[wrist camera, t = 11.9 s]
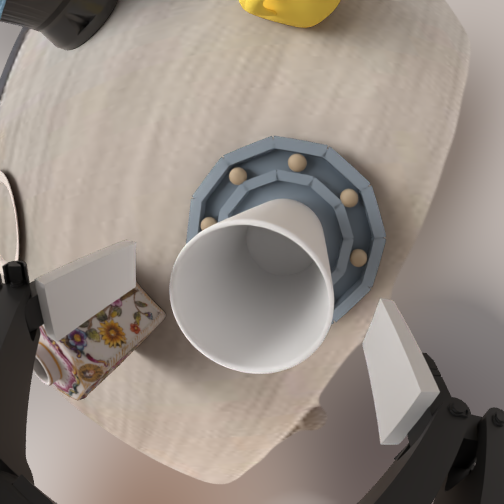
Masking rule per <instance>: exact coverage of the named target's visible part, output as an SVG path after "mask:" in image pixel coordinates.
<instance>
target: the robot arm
mask: <svg viewBox="0 0 504 504" xmlns="http://www.w3.org/2000/svg"><path fill="white" fill-rule="evenodd" d="M116 3H117V0H0V22H5V23H10V24H14V25H19V26H22V27H26V28H30V29H33V30H37V31H40V32H41V33H42V34H44V35H45V36H46V37H47V38H48V39H49V40H50V41H51V42H52V43H53V44H54V45H55V46H56V47H58V48H61V49H64V50H71V49H74V48H76V47H78V46H80V45H81V44H83V43H84V42H85V41H87V40H88V39H89V38H90V37H91V36H92V35H93V34H94V33H95V32H96V31H97V30H98V29H99V28H100V27H101V26H102V25H103V23H104V22H105V21H106V19H107V18H108V17H109V15H110V14H111V12H112V11H113V9H114V7H115V5H116ZM2 268H3V274H4V279H5V284H4V283H2V279H1V274H0V504H57V503H55V502H54V501H52V500H51V499H50V498H49V497H48V496H46V495H45V494H44V493H43V492H41V491H40V490H39V489H38V488H37V487H36V486H34V480H33V476H32V473H31V470H30V468H29V465H28V463H27V460H26V422H27V410H28V400H29V392H30V385H31V379H32V373H33V367H34V362H35V357H36V352H37V348H38V343H39V339H40V335H41V332H40V328H39V327H40V326H42V325H43V324H44V327H45V330H46V334H47V336H48V337H50V338H51V339H53V340H54V341H56V342H58V341H59V340H61V339H62V338H63V337H65V336H66V335H67V334H69V333H70V332H72V331H73V330H74V329H76V328H77V327H79V326H80V325H81V324H83V323H84V322H86V321H87V320H88V319H90V318H91V317H93V316H94V315H96V314H97V313H98V312H100V311H101V310H103V309H104V308H106V307H107V306H108V305H110V304H111V303H113V302H114V301H116V300H117V299H119V298H120V297H122V296H123V295H124V294H126V293H127V292H129V291H130V290H132V289H133V288H135V287H136V242H133V241H129V240H123V241H121V242H118V243H116V244H113V245H111V246H109V247H106V248H104V249H101V250H99V251H96V252H94V253H92V254H89V255H87V256H85V257H82V258H80V259H78V260H75V261H73V262H71V263H68V264H66V265H64V266H62V267H59V268H57V269H55V270H53V271H51V272H48V273H46V274H44V275H42V276H40V277H38V278H36V279H35V281H33V282H31V283H29V276H28V270H27V264H26V262H24V261H11V262H8V263H6V264H4V265H3V266H2ZM362 344H363V349H364V353H365V358H366V361H367V367H368V372H369V377H370V382H371V387H372V392H373V397H374V403H375V409H376V415H377V421H378V428H379V435H380V442H381V444H388V445H392V444H400V442H401V441H402V440H403V439H404V438H405V437H406V436H407V435H408V439H409V443H408V445H407V446H406V447H405V448H404V449H403V450H402V451H401V452H400V453H399V454H398V455H397V456H396V457H395V458H394V459H395V461H394V462H393V464H392V465H391V466H390V467H389V469H388V470H387V471H386V472H385V474H384V475H383V476H382V477H381V478H380V479H379V481H378V482H377V483H376V484H375V485H374V486H373V487H372V489H371V490H370V491H369V492H368V493H367V494H366V495H365V496H364V497H363V498H362V499H361V500H360V501H359V502H358V503H357V504H431V503H432V502H433V500H434V498H435V500H434V503H433V504H504V411H503V410H500V409H498V408H490V409H489V410H488V411H487V412H486V414H485V415H484V416H483V417H479V416H475V415H471V412H470V409H469V407H468V406H467V405H466V403H464V402H463V401H462V400H460V399H458V398H453V397H451V395H450V393H449V391H448V389H447V387H446V385H445V382H444V380H443V378H442V377H441V374H440V372H439V371H438V368H437V366H436V364H435V362H434V361H433V360H432V359H431V358H430V357H429V356H428V355H427V353H422V352H421V350H420V348H419V346H418V344H417V343H416V341H415V339H414V337H413V335H412V333H411V331H410V329H409V327H408V325H407V324H406V322H405V320H404V318H403V316H402V315H401V313H400V311H399V309H398V307H397V306H396V304H395V302H394V301H393V300H388V299H383V298H380V300H379V303H378V305H377V308H376V311H375V313H374V316H373V319H372V321H371V324H370V326H369V329H368V331H367V334H366V336H365V339H364V341H363V343H362ZM475 463H476V464H475Z"/></svg>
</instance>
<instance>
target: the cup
mask: <svg viewBox="0 0 504 504" xmlns="http://www.w3.org/2000/svg"><path fill="white" fill-rule="evenodd" d="M169 293H170V302H171V307H172V310H173V314H174V316H175V319H176V321H177V323H178V325H179V327H180V329H181V330H182V332H183V333H184V335H185V336H186V338H187V339H188V340H189V341H190V342H191V344H192V345H193V346H194V347H195V348H196V349H197V350H199V351H200V352H201V353H202V354H203V355H205V356H206V357H208V358H209V359H211V360H212V361H214V362H216V363H218V364H220V365H222V366H224V367H226V368H229V369H232V370H236V371H240V372H245V373H253V374H267V373H274V372H279V371H283V370H286V369H289V368H291V367H294V366H296V365H298V364H299V363H301V362H303V361H304V360H306V359H307V358H308V357H310V356H311V355H312V354H313V353H314V352H315V351H316V350H317V349H318V348H319V346H320V345H321V344H322V342H323V341H324V339H325V337H326V335H327V333H328V331H329V329H330V326H331V322H332V318H333V312H334V291H333V284H332V277H331V271H330V265H329V259H328V254H327V248H326V243H325V237H324V232H323V228H322V225H321V223H320V220H319V219H318V217H317V216H316V214H315V213H314V212H313V211H312V210H311V209H310V208H309V207H308V206H306V205H305V204H303V203H301V202H299V201H296V200H292V199H284V198H283V199H275V200H271V201H268V202H266V203H263V204H261V205H258V206H256V207H254V208H251V209H249V210H246V211H244V212H242V213H239V214H237V215H234V216H232V217H230V218H227V219H225V220H223V221H221V222H218V223H216V224H214V225H212V226H210V227H208V228H206V229H204V230H203V231H201V232H200V233H198V234H197V235H196V236H195V237H194V238H192V239H191V240H190V241H189V242H188V243H187V244H186V245H185V246H184V248H183V249H182V250H181V252H180V253H179V255H178V257H177V259H176V261H175V263H174V266H173V269H172V272H171V277H170V285H169Z"/></svg>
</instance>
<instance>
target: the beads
mask: <svg viewBox="0 0 504 504" xmlns="http://www.w3.org/2000/svg"><path fill="white" fill-rule="evenodd" d="M306 165H307V161H306V159H305V157H304V156H303V155H301V154H293V155H291V156H290V157H289V159H288V166H289V168H290V169H291V170H292V171H294V172H301V171H303V170H304V169H305V168H306ZM229 179H230V181H231V182H232V183H233V184H235V185H240V184H241V183H242V184H243V182H244V181H246V179H247V173H246V171H245V170H244V169H243V168H240V167H236V168H234V169H232V170H231V171H230V173H229ZM340 200H341V201H342V203H343V204H344V206H345V207H354V206H355V205H356V204H357V202H358V194H357V193H356V192H355V191H354V190H352V189H345V190H344V191H342V193H341V195H340ZM216 223H217V221H216V220H215V219H214V218H212V217H206V218H204V219H203V220H202V222H201V229H202V231H203V230H204V229H206V228H208V227H210V226H212V225H214V224H216ZM366 261H367V254H366V253H365V251H364V250H362V249H355V250H353V251H352V252H351V254H350V262H351V263H352V265H354V266H356V267H361V266H363V265H364V264H365V263H366Z"/></svg>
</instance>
